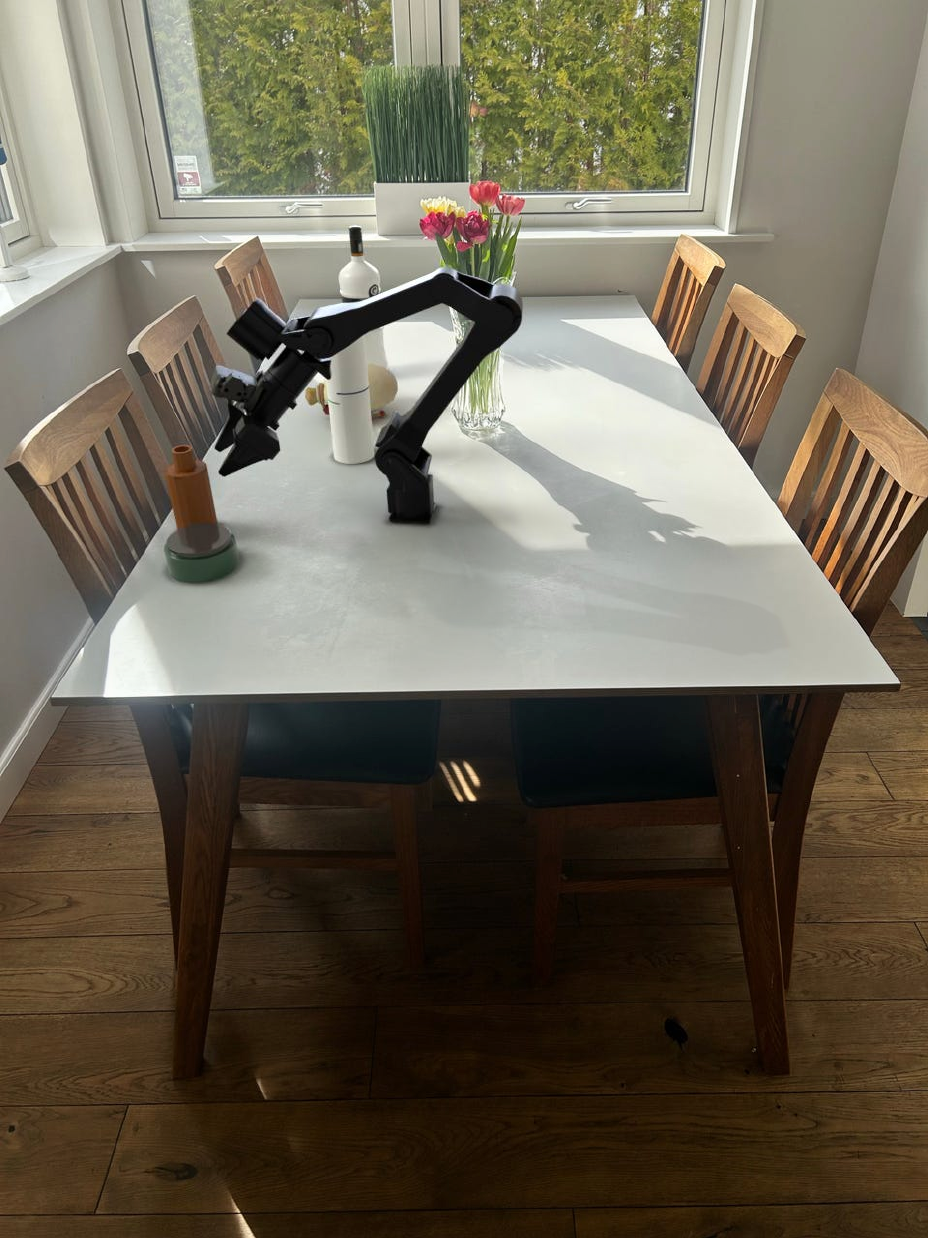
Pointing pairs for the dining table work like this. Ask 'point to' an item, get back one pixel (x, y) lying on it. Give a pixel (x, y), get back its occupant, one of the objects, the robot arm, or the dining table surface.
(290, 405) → the robot arm
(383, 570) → the dining table surface
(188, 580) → the green jar
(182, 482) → the amber bottle
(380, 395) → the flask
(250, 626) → the dining table surface
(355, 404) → the cylindrical container
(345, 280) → the vodka
